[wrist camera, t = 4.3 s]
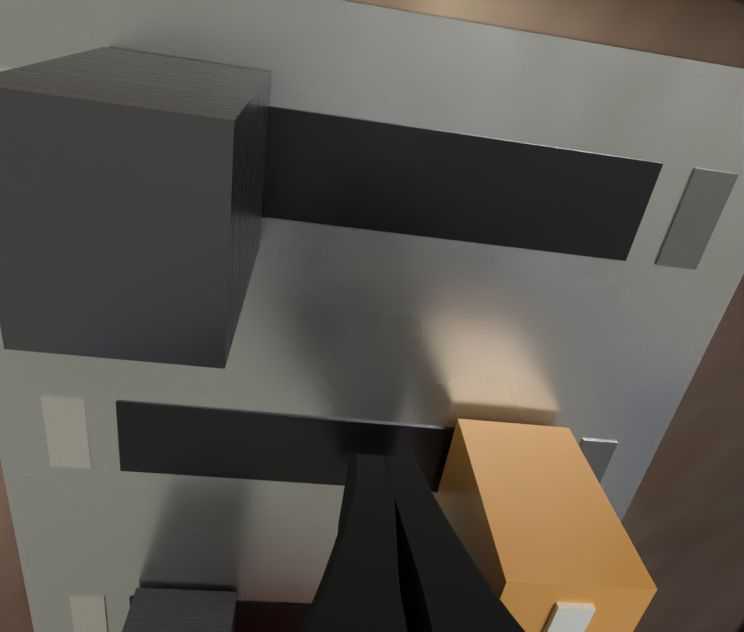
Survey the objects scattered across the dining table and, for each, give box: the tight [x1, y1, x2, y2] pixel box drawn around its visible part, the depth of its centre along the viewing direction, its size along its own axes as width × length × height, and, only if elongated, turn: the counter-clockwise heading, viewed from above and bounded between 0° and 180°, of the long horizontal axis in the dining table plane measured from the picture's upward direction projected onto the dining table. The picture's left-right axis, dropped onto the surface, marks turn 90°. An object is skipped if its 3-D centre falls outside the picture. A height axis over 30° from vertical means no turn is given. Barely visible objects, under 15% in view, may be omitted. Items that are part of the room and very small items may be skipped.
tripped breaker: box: [436, 419, 657, 632], centre depth 11 cm, size 3×2×4 cm
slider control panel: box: [0, 0, 744, 632], centre depth 12 cm, size 17×14×6 cm
